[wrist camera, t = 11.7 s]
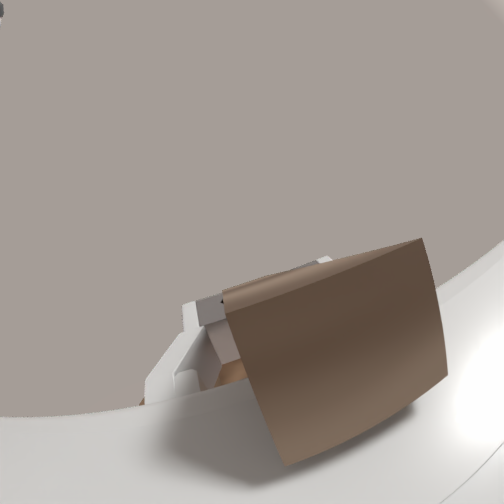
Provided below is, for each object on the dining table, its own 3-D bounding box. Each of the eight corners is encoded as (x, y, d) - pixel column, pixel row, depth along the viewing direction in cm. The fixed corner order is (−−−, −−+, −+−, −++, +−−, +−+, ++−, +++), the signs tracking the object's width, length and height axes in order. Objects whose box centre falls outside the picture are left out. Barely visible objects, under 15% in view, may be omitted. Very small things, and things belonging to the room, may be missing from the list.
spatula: (514, 308, 3) (494, 202, 3) (118, 493, 2) (44, 362, 2) (281, 292, 24) (273, 271, 24) (204, 318, 23) (197, 296, 23)
